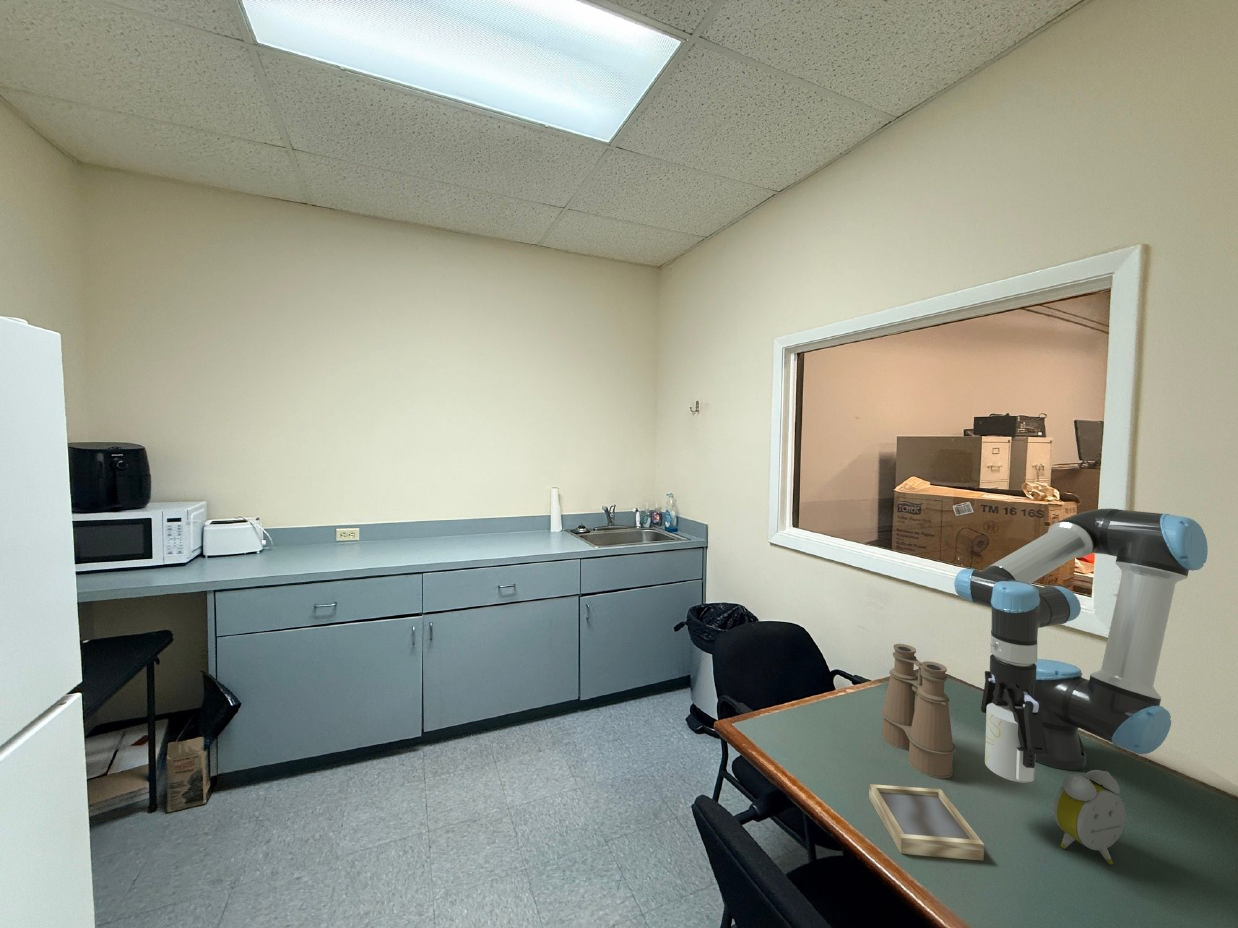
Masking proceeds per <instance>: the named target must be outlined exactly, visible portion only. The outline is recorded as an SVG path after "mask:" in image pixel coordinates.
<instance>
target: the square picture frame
mask: <svg viewBox="0 0 1238 928" xmlns="http://www.w3.org/2000/svg"><path fill="white" fill-rule="evenodd" d="M868 789H869V790H868V791H869V792H868V798H869V800H870V802H871V805H872V806H873V807H874V809H875V811H876V813H877V814H878V816H879V818H880V820H881V821H882V824H883V825H884V826H885V828H886V830H887V832H888V834H889V836H890V838H891V840H893V843H894V845H895V846H896V848H897V851H898V852H899V853H900V854H901V855H910V856H911V855H913V856H921V857H922V856H924V857H926V856H927V857H936V858H946V859H947V858H949V859H961V860H970V861H971V860H973V861H982V862H983V861H984V859H985V858H984V856H985V843H984V842H983V841H982V839H981V838H980V837H979V836H978V834H977V833H976V832H975V831H974V829H973V828H972V827H971V826H970V825H969V823H968V822H967V820H966V819H965V818H964V817H963V815H962V814H961V813H960V812H959V810H958V809H957V808H956V806H955V805H954V804H953V803H952V802H951V800H950V799H949V797H947V795H946V793H944V791H943V790H942V789H941V788H927V787H914V786H912V787H911V786H902V785H901V786H899V785H884V784H875V783H874V784H872V783H870V784H869V788H868Z"/></svg>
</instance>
